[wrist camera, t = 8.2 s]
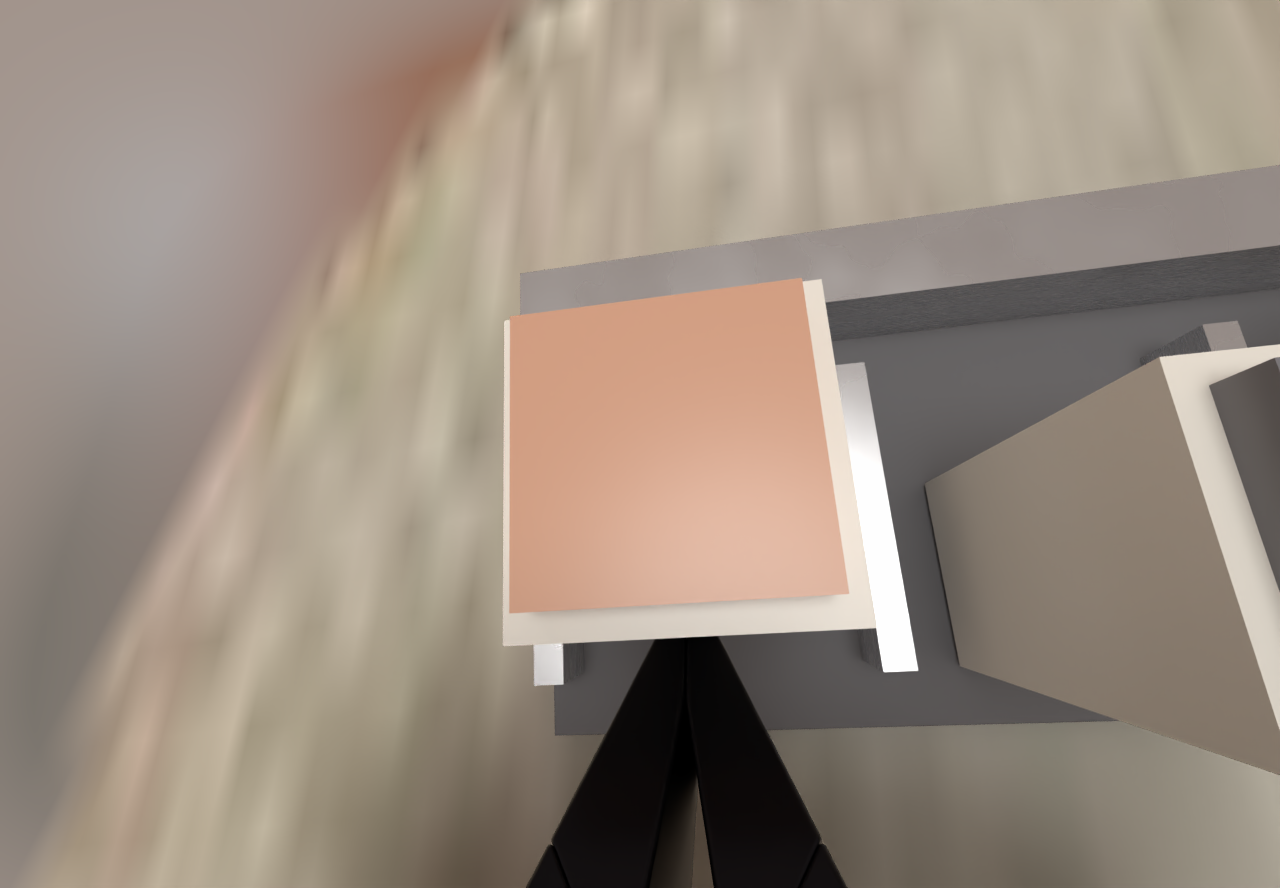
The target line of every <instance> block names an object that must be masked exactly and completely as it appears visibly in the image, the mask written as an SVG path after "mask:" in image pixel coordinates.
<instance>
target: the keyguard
mask: <svg viewBox="0 0 1280 888" xmlns="http://www.w3.org/2000/svg"><path fill="white" fill-rule="evenodd" d="M797 278H802V281H811V280H818V279H822V285H823V291H824V298H825V304H826V310H827V316H828V323H829V329H830V335H831V341H838V340H847V339H855V338H864V337H872V336H881V335H890V334H898V333H907V332H915V331H924V330H933V329H941V328H950V327H958V326H967V325H975V324H984V323H993V322H1001V321H1010V320H1018V319H1027V318H1035V317H1044V316H1053V315H1061V314H1070V313H1078V312H1087V311H1095V310H1104V309H1113V308H1121V307H1130V306H1138V305H1147V304H1156V303H1164V302H1173V301H1181V300H1190V299H1198V298H1207V297H1216V296H1224V295H1233V294H1241V293H1250V292H1258V291H1267V290H1276V289H1280V165H1276V166H1269V167H1262V168H1255V169H1248V170H1241V171H1234V172H1227V173H1220V174H1213V175H1206V176H1199V177H1192V178H1185V179H1178V180H1171V181H1164V182H1157V183H1150V184H1143V185H1136V186H1129V187H1122V188H1115V189H1108V190H1101V191H1094V192H1087V193H1080V194H1073V195H1066V196H1059V197H1052V198H1045V199H1038V200H1031V201H1024V202H1017V203H1010V204H1003V205H996V206H989V207H982V208H975V209H968V210H961V211H954V212H947V213H940V214H933V215H926V216H919V217H912V218H905V219H898V220H891V221H884V222H877V223H870V224H863V225H856V226H849V227H842V228H835V229H828V230H821V231H814V232H807V233H800V234H793V235H786V236H779V237H772V238H765V239H758V240H751V241H744V242H737V243H730V244H723V245H716V246H709V247H702V248H695V249H688V250H681V251H674V252H667V253H660V254H653V255H646V256H639V257H632V258H625V259H618V260H611V261H604V262H597V263H590V264H583V265H576V266H569V267H562V268H555V269H548V270H541V271H534V272H527V273H520V315H525V314H533V313H540V312H548V311H555V310H563V309H570V308H578V307H585V306H593V305H601V304H608V303H616V302H623V301H631V300H638V299H646V298H653V297H661V296H669V295H676V294H684V293H691V292H699V291H706V290H714V289H721V288H729V287H737V286H744V285H752V284H759V283H767V282H774V281H782V280H789V279H797ZM1240 348H1247V345H1246V342H1245V340H1244V337H1243V334H1242V332H1241V329H1240V326H1239V323H1238V321H1230V322H1221V323H1212V324H1203V325H1201V326H1199V327H1197V328H1195V329H1193V330H1192V331H1190V332H1188V333H1186V334H1184V335H1183V336H1181V337H1179V338H1177V339H1175V340H1174V341H1172V342H1170V343H1168V344H1167V345H1165V346H1163V347H1161V348H1159V349H1158V350H1156V351H1154V352H1152V353H1150V354H1149V355H1147V356H1145V357H1143V358H1141V359H1140V361H1141V365H1142V366H1143V365H1145V364H1147V363H1149V362H1151V361H1153V360H1155V359H1156V358H1158V357H1164V356H1173V355H1183V354H1193V353H1202V352H1212V351H1221V350H1231V349H1240ZM835 366H836V373H837V379H838V385H839V391H840V398H841V404H842V410H843V416H844V423H845V429H846V435H847V441H848V448H849V454H850V460H851V466H852V473H853V479H854V485H855V491H856V498H857V504H858V510H859V516H860V523H861V529H862V535H863V541H864V548H865V554H866V560H867V566H868V573H869V579H870V585H871V591H872V598H873V604H874V610H875V616H876V623H877V628H868V629H857V630H858V636H859V643H860V649H861V656H862V661H864V662H866V663H868V664H870V665H871V666H873V667H875V668H877V669H879V670H881V671H882V672H899V671H918V666H917V660H916V655H915V649H914V643H913V637H912V632H911V626H910V620H909V615H908V609H907V603H906V597H905V592H904V586H903V580H902V574H901V569H900V563H899V557H898V552H897V546H896V540H895V534H894V529H893V523H892V517H891V512H890V506H889V500H888V494H887V489H886V483H885V477H884V471H883V466H882V460H881V454H880V449H879V443H878V437H877V431H876V426H875V420H874V414H873V409H872V403H871V397H870V391H869V386H868V380H867V374H866V369H865V363H864V362H860V363H851V364H842V365H835ZM584 672H585V647H584V642H582V643H562V644H542V645H534V686H538V685H564V684H565V683H567V682H569V681H570V680H572V679H574V678H576V677H577V676H579V675H581V674H583V673H584Z"/></svg>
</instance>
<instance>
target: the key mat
mask: <svg viewBox="0 0 1280 888" xmlns="http://www.w3.org/2000/svg"><path fill="white" fill-rule="evenodd" d="M1230 321H1238V323H1239V326H1240V329H1241V332H1242V334H1243V337H1244V340H1245V342H1246V345H1247V348H1250V347H1259V346H1269V345H1278V344H1280V289H1276V290H1267V291H1258V292H1250V293H1241V294H1233V295H1224V296H1216V297H1207V298H1198V299H1190V300H1181V301H1173V302H1164V303H1156V304H1147V305H1138V306H1130V307H1121V308H1113V309H1104V310H1095V311H1087V312H1078V313H1070V314H1061V315H1053V316H1044V317H1035V318H1027V319H1018V320H1010V321H1001V322H993V323H984V324H975V325H967V326H958V327H950V328H941V329H933V330H924V331H915V332H907V333H898V334H890V335H881V336H872V337H864V338H855V339H847V340H838V341H832V348H833V354H834V360H835V365H842V364H851V363H860V362H864V363H865V369H866V374H867V380H868V386H869V391H870V397H871V403H872V409H873V414H874V420H875V426H876V431H877V437H878V443H879V449H880V454H881V460H882V466H883V471H884V477H885V483H886V489H887V494H888V500H889V506H890V512H891V517H892V523H893V529H894V534H895V540H896V546H897V552H898V557H899V563H900V569H901V574H902V580H903V586H904V592H905V597H906V603H907V609H908V615H909V620H910V626H911V632H912V637H913V643H914V649H915V655H916V660H917V666H918V671H899V672H882V671H881V670H879V669H877V668H875V667H873V666H871V665H870V664H868V663H866V662H864V661H862V656H861V649H860V643H859V636H858V630H857V629H848V630H827V631H807V632H787V633H766V634H746V635H725V636H719V638H720V640H721V642H722V644H723V646H724V648H725V650H726V652H727V653H728V655H729V657H730V659H731V661H732V663H733V665H734V667H735V669H736V671H737V673H738V675H739V677H740V679H741V681H742V683H743V685H744V687H745V689H746V691H747V693H748V695H749V697H750V699H751V701H752V703H753V705H754V707H755V709H756V710H757V712H758V714H759V716H760V718H761V720H762V722H763V724H764V726H765V728H766V730H785V729H823V728H862V727H900V726H938V725H977V724H1015V723H1053V722H1092V721H1119V720H1116V719H1114V718H1111V717H1108V716H1105V715H1102V714H1099V713H1096V712H1093V711H1090V710H1087V709H1084V708H1081V707H1078V706H1075V705H1072V704H1069V703H1066V702H1064V701H1061V700H1058V699H1055V698H1052V697H1049V696H1046V695H1043V694H1040V693H1037V692H1034V691H1031V690H1028V689H1025V688H1022V687H1019V686H1016V685H1014V684H1011V683H1008V682H1005V681H1002V680H999V679H996V678H993V677H990V676H987V675H984V674H981V673H978V672H975V671H972V670H969V669H967V668H964V667H961V666H960V664H959V659H958V654H957V648H956V643H955V638H954V633H953V628H952V623H951V617H950V612H949V607H948V602H947V597H946V591H945V586H944V581H943V576H942V571H941V566H940V560H939V555H938V550H937V545H936V540H935V535H934V529H933V524H932V519H931V514H930V509H929V503H928V498H927V493H926V488H925V483H926V482H928V481H930V480H932V479H934V478H936V477H937V476H939V475H941V474H943V473H945V472H947V471H949V470H950V469H952V468H954V467H956V466H958V465H960V464H962V463H963V462H965V461H967V460H969V459H971V458H973V457H975V456H976V455H978V454H980V453H982V452H984V451H986V450H988V449H989V448H991V447H993V446H995V445H997V444H999V443H1001V442H1002V441H1004V440H1006V439H1008V438H1010V437H1012V436H1014V435H1015V434H1017V433H1019V432H1021V431H1023V430H1025V429H1027V428H1028V427H1030V426H1032V425H1034V424H1036V423H1038V422H1040V421H1041V420H1043V419H1045V418H1047V417H1049V416H1051V415H1053V414H1054V413H1056V412H1058V411H1060V410H1062V409H1064V408H1065V407H1067V406H1069V405H1071V404H1073V403H1075V402H1077V401H1078V400H1080V399H1082V398H1084V397H1086V396H1088V395H1090V394H1091V393H1093V392H1095V391H1097V390H1099V389H1101V388H1103V387H1104V386H1106V385H1108V384H1110V383H1112V382H1114V381H1116V380H1117V379H1119V378H1121V377H1123V376H1125V375H1127V374H1129V373H1130V372H1132V371H1134V370H1136V369H1138V368H1140V367H1142V365H1141V361H1140V359H1141V358H1143V357H1145V356H1147V355H1149V354H1150V353H1152V352H1154V351H1156V350H1158V349H1159V348H1161V347H1163V346H1165V345H1167V344H1168V343H1170V342H1172V341H1174V340H1175V339H1177V338H1179V337H1181V336H1183V335H1184V334H1186V333H1188V332H1190V331H1192V330H1193V329H1195V328H1197V327H1199V326H1201V325H1203V324H1212V323H1221V322H1230ZM653 641H654V639H644V640H623V641H603V642H584V647H585V672H584V673H583V674H581V675H579V676H577V677H576V678H574V679H572V680H570V681H569V682H567V683H565V684H564V685H554V700H555V735H593V734H606V732H607V730H608V728H609V726H610V724H611V722H612V721H613V719H614V717H615V715H616V713H617V711H618V709H619V707H620V705H621V703H622V701H623V699H624V697H625V695H626V693H627V691H628V689H629V688H630V686H631V684H632V682H633V680H634V678H635V676H636V674H637V672H638V670H639V668H640V666H641V664H642V662H643V660H644V658H645V657H646V655H647V653H648V651H649V649H650V647H651V645H652V643H653Z"/></svg>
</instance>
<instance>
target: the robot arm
mask: <svg viewBox="0 0 1280 888" xmlns="http://www.w3.org/2000/svg"><path fill="white" fill-rule="evenodd" d="M698 787H699V794H700V800H701V807H702V813H703V820H704V826H705V833H706V839H707V846H708V852H709V859H710V865H711V872H712V878H713V885H714V888H847V886H846V884H845V882H844V880H843V879H842V877H841V875H840V873H839V871H838V869H837V867H836V865H835V863H834V861H833V859H832V857H831V855H830V853H829V851H828V849H827V847H826V846H825V845H824V844H822V839H821V836H820V834H819V832H818V830H817V828H816V826H815V824H814V822H813V820H812V819H811V817H810V815H809V813H808V811H807V809H806V807H805V805H804V803H803V801H802V799H801V797H800V795H799V793H798V791H797V789H796V787H795V785H794V783H793V781H792V779H791V777H790V775H789V773H788V771H787V769H786V767H785V765H784V764H783V762H782V760H781V758H780V756H779V754H778V752H777V750H776V748H775V746H774V744H773V742H772V740H771V738H770V736H769V734H768V732H767V730H766V728H765V726H764V724H763V722H762V720H761V718H760V716H759V714H758V712H757V710H756V709H755V707H754V705H753V703H752V701H751V699H750V697H749V695H748V693H747V691H746V689H745V687H744V685H743V683H742V681H741V679H740V677H739V675H738V673H737V671H736V669H735V667H734V665H733V663H732V661H731V659H730V657H729V655H728V653H727V652H726V650H725V648H724V646H723V644H722V642H721V640H720V638H719V636H705V637H685V638H664V639H654V641H653V643H652V645H651V647H650V649H649V651H648V653H647V655H646V657H645V658H644V660H643V662H642V664H641V666H640V668H639V670H638V672H637V674H636V676H635V678H634V680H633V682H632V684H631V686H630V688H629V689H628V691H627V693H626V695H625V697H624V699H623V701H622V703H621V705H620V707H619V709H618V711H617V713H616V715H615V717H614V719H613V721H612V722H611V724H610V726H609V728H608V730H607V732H606V734H605V736H604V738H603V740H602V742H601V744H600V746H599V748H598V750H597V752H596V753H595V755H594V757H593V759H592V761H591V763H590V765H589V767H588V769H587V771H586V773H585V775H584V777H583V779H582V781H581V783H580V785H579V786H578V788H577V790H576V792H575V794H574V796H573V798H572V800H571V802H570V804H569V806H568V808H567V810H566V812H565V814H564V816H563V817H562V819H561V821H560V823H559V825H558V827H557V829H556V831H555V833H554V835H553V837H552V844H553V845H551V844H550V845H548V846H547V848H546V850H545V852H544V854H543V856H542V858H541V860H540V862H539V864H538V865H537V867H536V869H535V871H534V873H533V875H532V877H531V879H530V881H529V882H528V884H527V886H526V888H691V887H692V871H693V855H694V839H695V823H696V807H697V789H698Z"/></svg>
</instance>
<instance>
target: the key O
mask: <svg viewBox="0 0 1280 888" xmlns="http://www.w3.org/2000/svg"><path fill="white" fill-rule="evenodd" d="M868 628H877V623H876V616H875V610H874V604H873V598H872V591H871V585H870V579H869V573H868V566H867V560H866V554H865V548H864V541H863V535H862V529H861V523H860V516H859V510H858V504H857V498H856V491H855V485H854V479H853V473H852V466H851V460H850V454H849V448H848V441H847V435H846V429H845V423H844V416H843V410H842V404H841V398H840V391H839V385H838V379H837V373H836V366H835V360H834V354H833V348H832V341H831V335H830V329H829V323H828V316H827V310H826V304H825V298H824V291H823V285H822V279H818V280H811V281H802V278H797V279H789V280H782V281H774V282H767V283H759V284H752V285H744V286H737V287H729V288H721V289H714V290H706V291H699V292H691V293H684V294H676V295H669V296H661V297H653V298H646V299H638V300H631V301H623V302H616V303H608V304H601V305H593V306H585V307H578V308H570V309H563V310H555V311H548V312H540V313H533V314H525V315H517V316H510V320H506V321H504V504H503V646H521V645H542V644H562V643H582V642H603V641H623V640H644V639H664V638H685V637H705V636H725V635H746V634H766V633H787V632H807V631H827V630H848V629H868Z"/></svg>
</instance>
